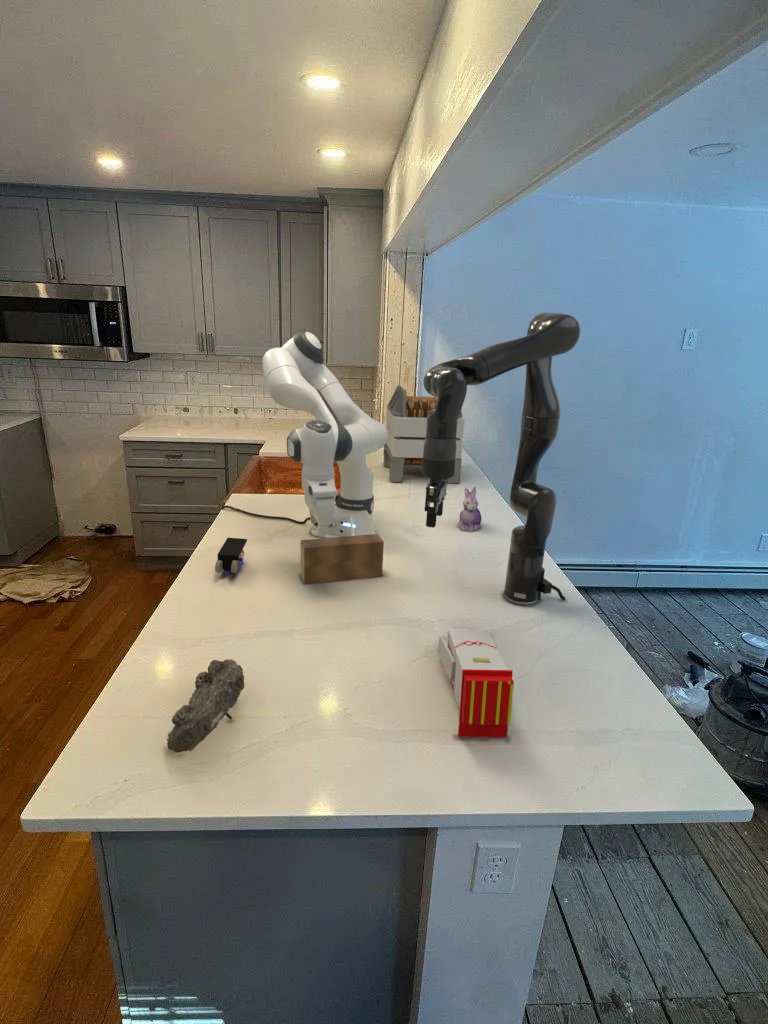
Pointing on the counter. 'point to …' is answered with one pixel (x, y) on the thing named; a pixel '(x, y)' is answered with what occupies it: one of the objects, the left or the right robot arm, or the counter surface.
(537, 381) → the right robot arm
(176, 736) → the fossil
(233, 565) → the black toy vehicle
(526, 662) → the counter surface
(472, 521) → the figurine
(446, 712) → the counter surface
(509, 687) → the toy
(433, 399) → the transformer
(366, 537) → the box
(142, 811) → the counter surface
